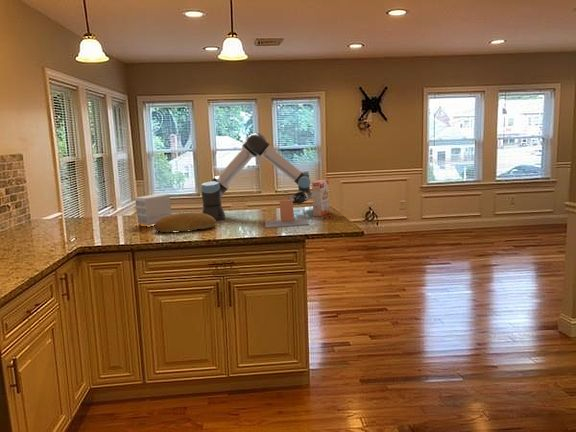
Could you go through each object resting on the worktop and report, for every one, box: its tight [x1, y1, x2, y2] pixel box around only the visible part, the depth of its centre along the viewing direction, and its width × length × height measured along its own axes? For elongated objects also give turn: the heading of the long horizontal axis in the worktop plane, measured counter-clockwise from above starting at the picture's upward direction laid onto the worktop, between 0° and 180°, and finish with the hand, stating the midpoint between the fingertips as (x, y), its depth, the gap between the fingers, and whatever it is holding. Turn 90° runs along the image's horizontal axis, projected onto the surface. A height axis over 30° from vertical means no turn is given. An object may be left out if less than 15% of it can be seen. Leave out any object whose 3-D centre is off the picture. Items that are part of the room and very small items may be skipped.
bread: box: [153, 211, 217, 233], centre depth 272 cm, size 18×35×10 cm, turn 94°
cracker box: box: [311, 179, 331, 217], centre depth 290 cm, size 14×6×21 cm, turn 154°
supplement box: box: [134, 193, 173, 225], centre depth 295 cm, size 17×13×18 cm
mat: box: [264, 217, 310, 229], centre depth 270 cm, size 24×19×1 cm
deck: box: [279, 199, 295, 221], centre depth 275 cm, size 4×7×12 cm, turn 73°
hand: (290, 203), depth 281 cm, fingers closed
